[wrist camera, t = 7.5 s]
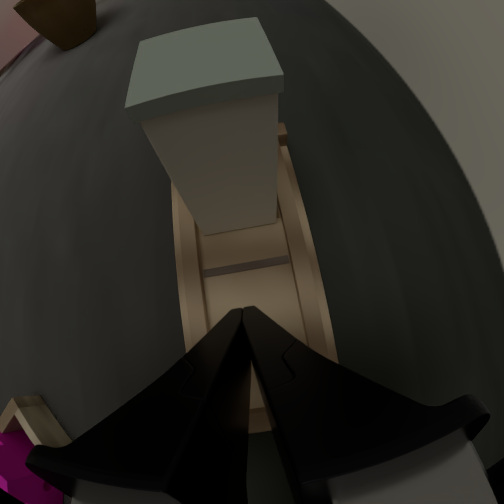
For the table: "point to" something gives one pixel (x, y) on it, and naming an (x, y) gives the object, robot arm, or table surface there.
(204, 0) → the table surface
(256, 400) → the wooden tray
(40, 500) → the toy block
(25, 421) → the block pen
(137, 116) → the block
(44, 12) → the plant pot
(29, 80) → the table surface
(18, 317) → the table surface
